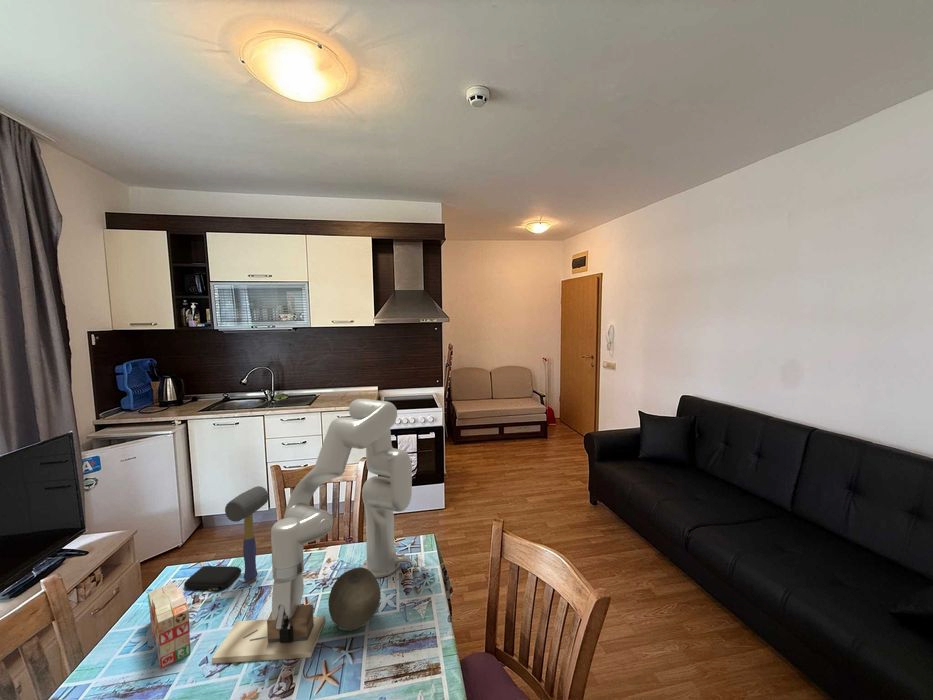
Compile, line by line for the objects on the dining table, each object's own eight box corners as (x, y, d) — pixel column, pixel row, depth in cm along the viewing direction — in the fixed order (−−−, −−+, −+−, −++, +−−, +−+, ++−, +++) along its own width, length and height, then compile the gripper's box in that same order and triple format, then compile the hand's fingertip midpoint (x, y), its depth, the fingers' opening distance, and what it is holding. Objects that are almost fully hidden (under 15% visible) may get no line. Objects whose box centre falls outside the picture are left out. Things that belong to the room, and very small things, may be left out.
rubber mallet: (247, 594, 120) (243, 501, 118) (226, 592, 121) (221, 499, 119) (273, 569, 132) (270, 485, 130) (254, 567, 133) (250, 483, 132)
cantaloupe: (324, 649, 99) (322, 593, 98) (334, 609, 113) (332, 560, 112) (379, 641, 101) (378, 587, 100) (382, 603, 115) (381, 555, 114)
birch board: (325, 621, 108) (324, 616, 108) (310, 657, 96) (310, 651, 96) (237, 626, 107) (237, 621, 107) (212, 663, 95) (211, 657, 95)
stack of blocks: (149, 623, 108) (147, 581, 108) (177, 611, 113) (174, 571, 112) (160, 670, 93) (157, 622, 93) (191, 654, 98) (189, 608, 97)
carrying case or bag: (178, 593, 121) (222, 594, 120) (177, 584, 121) (222, 585, 120) (202, 572, 132) (244, 573, 131) (202, 563, 131) (243, 564, 131)
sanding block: (313, 625, 105) (312, 604, 104) (307, 640, 100) (306, 618, 99) (276, 627, 104) (275, 606, 104) (267, 642, 99) (266, 620, 99)
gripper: (286, 549, 109) (288, 610, 110) (258, 590, 92) (261, 661, 93) (313, 548, 110) (315, 608, 111) (290, 588, 93) (293, 659, 94)
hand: (290, 632), depth 102 cm, fingers closed on sanding block, 5 cm apart
